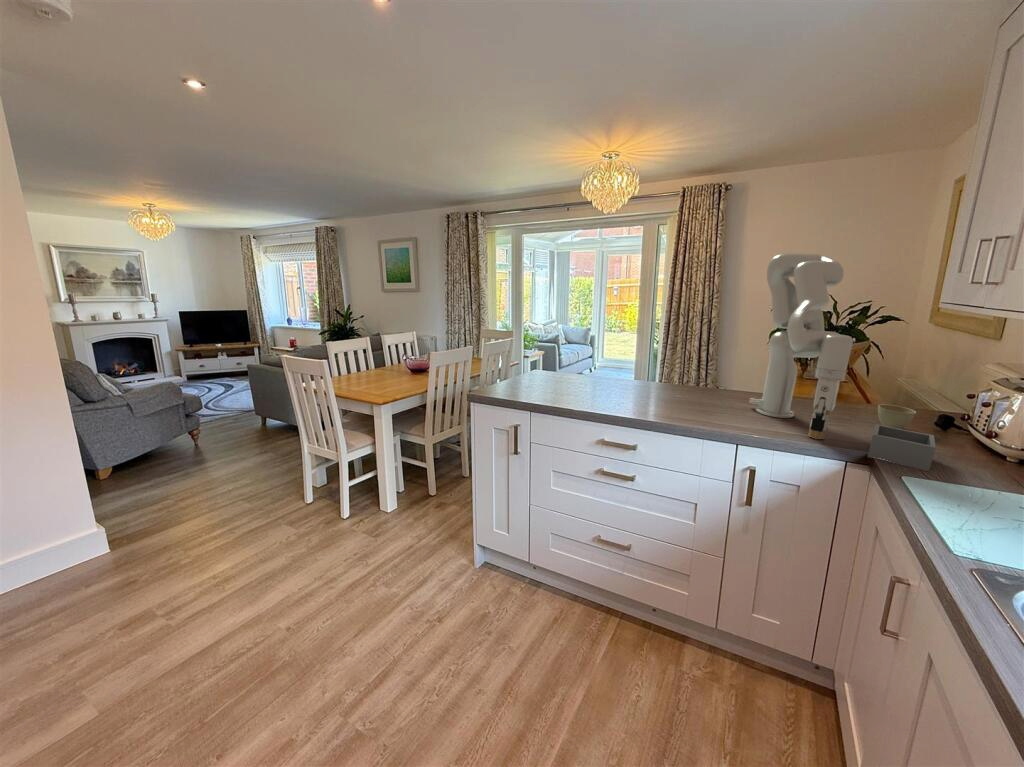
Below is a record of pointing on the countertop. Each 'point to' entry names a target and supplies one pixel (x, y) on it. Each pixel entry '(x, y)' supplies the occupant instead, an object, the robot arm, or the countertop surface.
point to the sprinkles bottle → (816, 433)
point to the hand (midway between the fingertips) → (817, 428)
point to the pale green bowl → (895, 416)
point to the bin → (902, 447)
